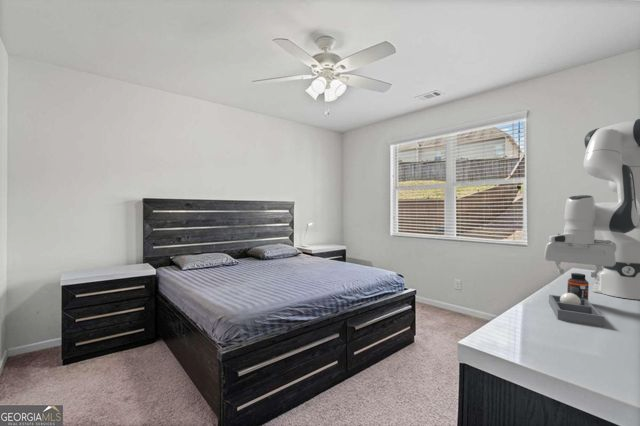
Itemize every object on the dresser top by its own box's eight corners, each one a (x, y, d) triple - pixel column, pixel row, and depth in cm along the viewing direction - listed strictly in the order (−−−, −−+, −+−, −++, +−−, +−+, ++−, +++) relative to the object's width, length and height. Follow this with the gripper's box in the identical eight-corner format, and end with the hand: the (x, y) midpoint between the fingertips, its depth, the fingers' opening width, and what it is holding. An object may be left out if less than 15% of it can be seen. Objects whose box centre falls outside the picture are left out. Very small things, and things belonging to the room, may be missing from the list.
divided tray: (548, 304, 111) (549, 294, 111) (586, 309, 106) (586, 299, 106) (557, 321, 94) (557, 309, 94) (603, 328, 88) (603, 316, 88)
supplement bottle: (588, 307, 108) (589, 276, 108) (567, 304, 112) (568, 274, 111) (587, 303, 113) (588, 273, 113) (566, 300, 116) (567, 271, 116)
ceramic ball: (558, 305, 108) (558, 290, 108) (578, 308, 105) (579, 292, 105) (561, 309, 103) (561, 293, 103) (582, 313, 100) (582, 296, 100)
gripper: (613, 240, 109) (612, 278, 109) (544, 236, 120) (542, 270, 120) (619, 241, 104) (618, 281, 104) (546, 236, 114) (544, 273, 114)
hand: (577, 275), depth 112 cm, fingers open, 8 cm apart
